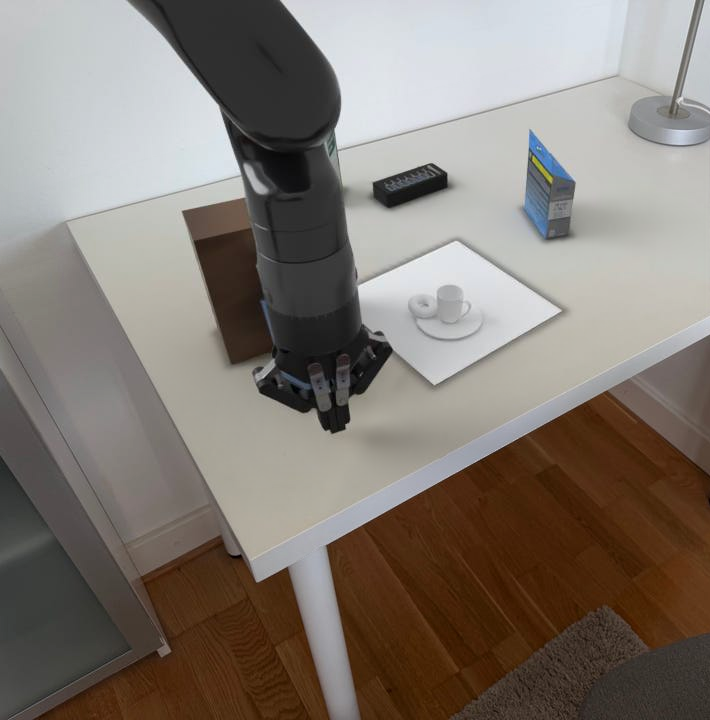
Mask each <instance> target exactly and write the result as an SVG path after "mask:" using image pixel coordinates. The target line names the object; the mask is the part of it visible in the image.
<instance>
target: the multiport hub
mask: <svg viewBox="0 0 710 720" xmlns="http://www.w3.org/2000/svg"><path fill="white" fill-rule="evenodd" d="M448 176H449V175H448V172H447V171H446V170H444V169H442V168H441V167H439V166H438V165H437V164H435V163H433V162H430V163H429V162H428V163H427V164H423V165H420V166H417V167H415V168H412V169H409V170H405V171H403V172H399V173H396V174H393V175H390V176H387V177H384V178H381V179H378V180H375V181H372V194H373V198H374V199H375V200H376V201H378V202H379V203H380V204H382V205H384V207H386V208H387V209H391V208H394V207H397V206H399V205H403V204H405V203H408V202H410V201H414V200H416V199H419V198H422V197H424V196H427V195H430V194H434V193H436V192H439V191H441V190H444V189H447V188H448V187H449V186H448V185H449V179H448Z"/></svg>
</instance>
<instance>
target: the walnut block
mask: <svg viewBox="0 0 710 720" xmlns="http://www.w3.org/2000/svg"><path fill="white" fill-rule="evenodd" d="M181 214H182V217H183V221H184V223H185V227H186V231H187V234H188V237H189V241H190V244H191V247H192V250H193V254H194V256H195V259H196V263H197V266H198V269H199V273H200V276H201V279H202V283H203V285H204V289H205V293H206V295H207V299H208V302H209V305H210V309H211V312H212V315H213V319H214V322H215V324H216V328H217V331H218V335H219V337H220V340H221V342H222V345H223V347H224V350H225V353H226V356H227V358H228V361H229V364H230V365H233V364H236V363H239V362H243V361H247V360H250V359H254V358H256V357H260V356H263V355H267V354H271V351H272V348H273V346H274V345H273V342H272V339H271V335H270V332H269V329H268V326H267V322H266V319H265V316H264V313H263V309H262V306H261V303H260V300H261V299H262V298H264V295H263V290H262V286H261V282H260V278H259V275H258V271H257V268H256V264H257V253H256V245H255V240H254V236H253V232H252V228H251V223H250V219H249V215H248V211H247V205H246V198H245V196H244V197H240V198H236V199H231V200H226V201H222V202H217V203H213V204H208V205H203V206H198V207H193V208H189V209H184V210H181Z"/></svg>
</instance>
